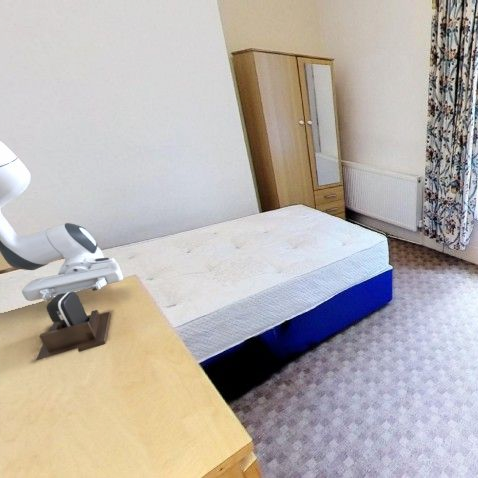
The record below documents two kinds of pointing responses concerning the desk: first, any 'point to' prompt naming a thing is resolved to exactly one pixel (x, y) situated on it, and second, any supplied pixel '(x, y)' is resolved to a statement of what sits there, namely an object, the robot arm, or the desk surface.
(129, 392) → the desk surface
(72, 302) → the battery charger
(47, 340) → the dock
